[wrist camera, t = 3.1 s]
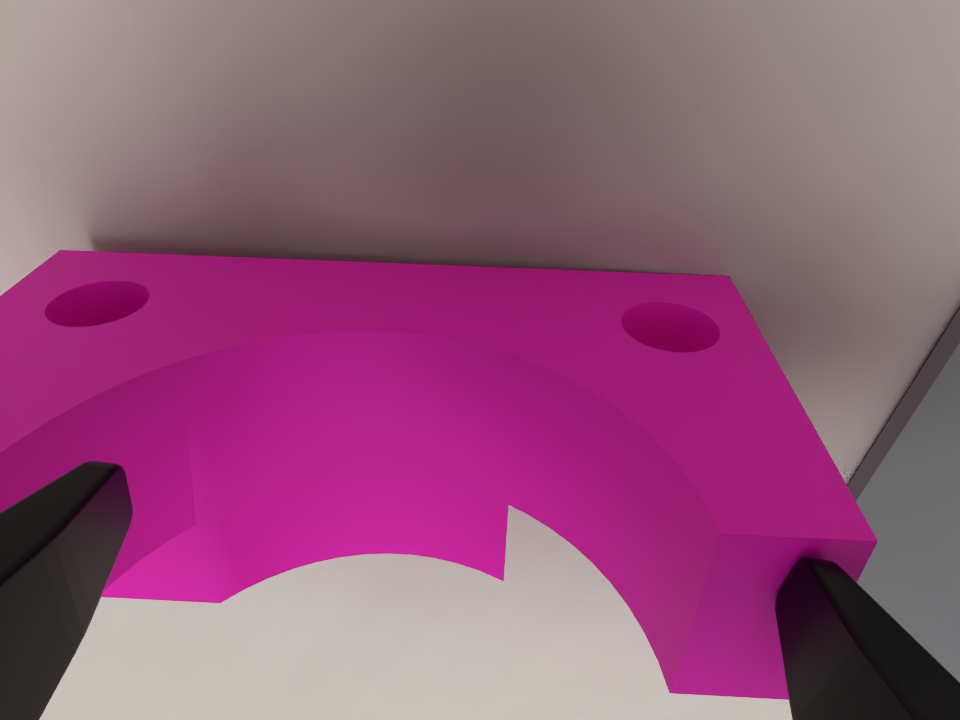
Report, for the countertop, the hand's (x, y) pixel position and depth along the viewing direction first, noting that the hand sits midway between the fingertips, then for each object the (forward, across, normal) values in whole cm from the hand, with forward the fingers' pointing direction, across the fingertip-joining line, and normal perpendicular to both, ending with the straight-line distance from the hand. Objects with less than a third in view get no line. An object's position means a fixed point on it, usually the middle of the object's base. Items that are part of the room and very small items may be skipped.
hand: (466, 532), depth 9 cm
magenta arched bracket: (+8, +2, +3) cm, 9 cm away
